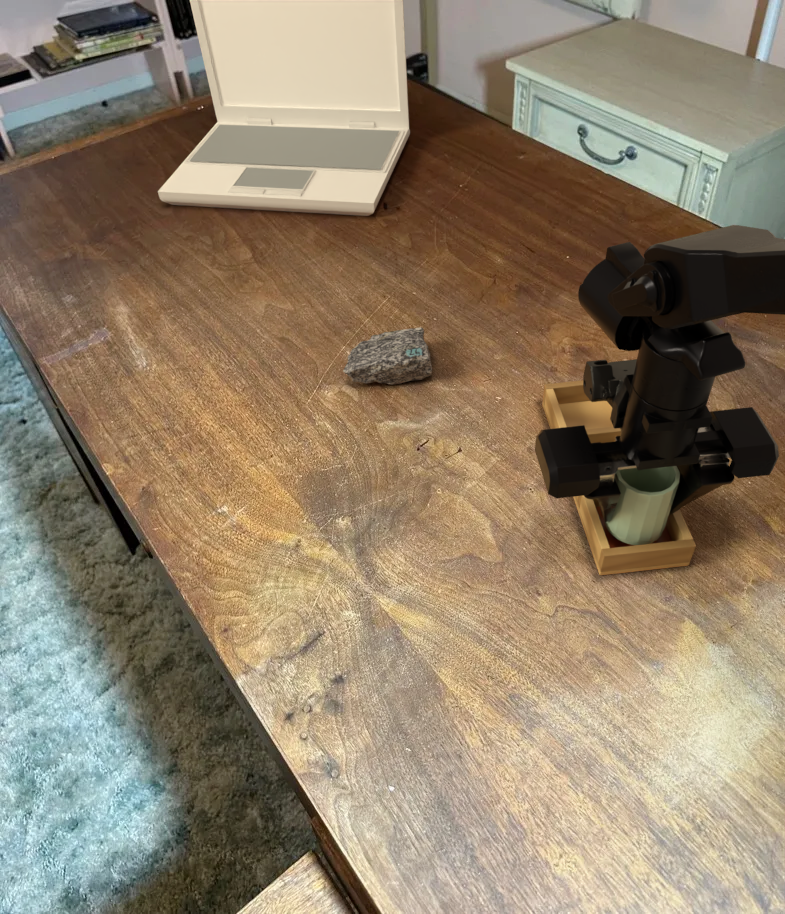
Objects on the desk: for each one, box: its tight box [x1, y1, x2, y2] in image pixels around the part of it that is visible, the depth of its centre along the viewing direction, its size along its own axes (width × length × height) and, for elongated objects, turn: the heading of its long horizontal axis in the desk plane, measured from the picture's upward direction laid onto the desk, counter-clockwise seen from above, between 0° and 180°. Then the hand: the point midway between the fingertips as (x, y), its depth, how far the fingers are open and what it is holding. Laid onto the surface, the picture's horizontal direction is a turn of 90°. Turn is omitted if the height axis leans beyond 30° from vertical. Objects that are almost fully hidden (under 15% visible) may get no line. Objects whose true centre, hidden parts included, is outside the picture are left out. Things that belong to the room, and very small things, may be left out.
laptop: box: [157, 0, 411, 217], centre depth 116 cm, size 35×26×28 cm
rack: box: [541, 379, 697, 576], centre depth 76 cm, size 23×8×3 cm, turn 5°
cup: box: [605, 466, 680, 545], centre depth 68 cm, size 5×5×7 cm
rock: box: [342, 327, 433, 385], centre depth 89 cm, size 8×10×4 cm
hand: (636, 514), depth 70 cm, fingers closed on cup, 5 cm apart
